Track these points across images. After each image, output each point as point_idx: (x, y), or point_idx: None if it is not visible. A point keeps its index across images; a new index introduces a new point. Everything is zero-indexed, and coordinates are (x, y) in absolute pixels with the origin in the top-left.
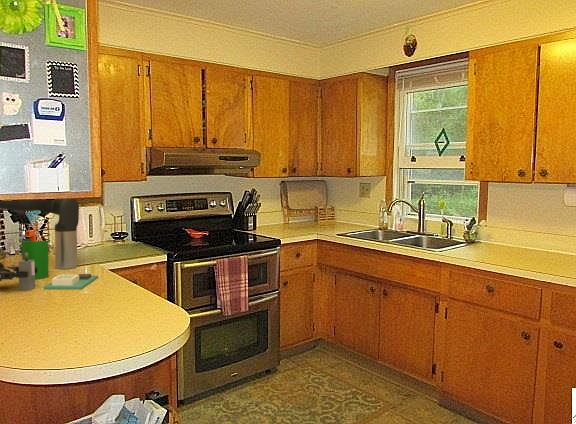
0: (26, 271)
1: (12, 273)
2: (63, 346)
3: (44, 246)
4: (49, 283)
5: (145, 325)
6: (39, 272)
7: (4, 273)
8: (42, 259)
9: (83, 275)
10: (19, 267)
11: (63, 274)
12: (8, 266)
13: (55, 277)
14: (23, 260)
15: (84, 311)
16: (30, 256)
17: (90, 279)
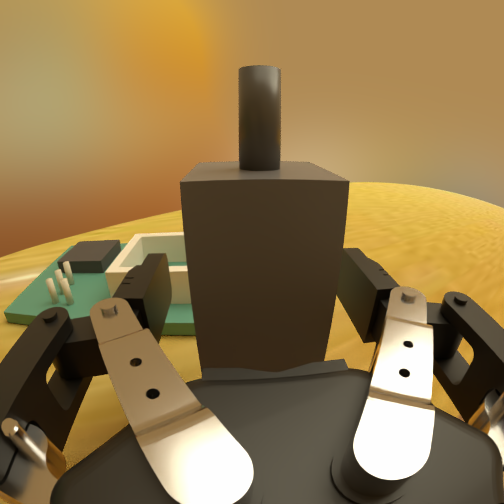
0: (345, 250)
1: (444, 301)
2: (500, 216)
3: None
4: (166, 322)
5: (414, 192)
6: None
7: (502, 334)
8: None
9: (93, 248)
10: (338, 258)
11: (66, 280)
12: (202, 478)
13: (173, 269)
14: (250, 174)
15: (417, 219)
16: None
17: (124, 245)
